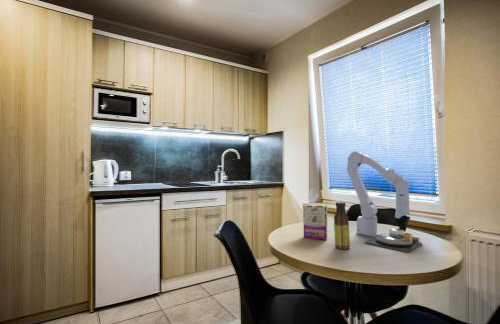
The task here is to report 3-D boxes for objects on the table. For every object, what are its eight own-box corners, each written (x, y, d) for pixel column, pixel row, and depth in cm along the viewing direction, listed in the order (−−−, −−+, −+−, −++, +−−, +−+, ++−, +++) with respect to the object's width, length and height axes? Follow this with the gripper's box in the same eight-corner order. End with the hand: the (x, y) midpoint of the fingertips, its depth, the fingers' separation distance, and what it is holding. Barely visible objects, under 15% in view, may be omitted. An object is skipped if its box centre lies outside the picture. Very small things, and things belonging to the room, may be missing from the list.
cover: (387, 235, 126) (387, 229, 126) (392, 233, 130) (392, 227, 130) (401, 238, 121) (401, 231, 121) (406, 236, 125) (405, 229, 125)
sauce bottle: (349, 246, 119) (349, 201, 119) (350, 250, 113) (349, 203, 113) (334, 245, 121) (334, 201, 121) (333, 249, 115) (333, 203, 116)
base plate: (365, 243, 124) (365, 236, 124) (381, 236, 136) (381, 229, 136) (408, 252, 110) (408, 244, 110) (422, 244, 122) (421, 236, 122)
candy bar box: (327, 238, 133) (327, 205, 134) (326, 240, 129) (326, 206, 129) (305, 235, 137) (305, 203, 138) (303, 238, 133) (303, 205, 133)
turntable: (370, 241, 123) (369, 231, 124) (383, 235, 134) (383, 226, 134) (405, 248, 112) (405, 237, 112) (417, 241, 122) (417, 231, 122)
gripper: (406, 205, 123) (406, 235, 123) (416, 202, 133) (416, 230, 133) (390, 204, 129) (390, 232, 128) (401, 201, 138) (401, 227, 138)
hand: (402, 231), depth 131 cm, fingers closed
